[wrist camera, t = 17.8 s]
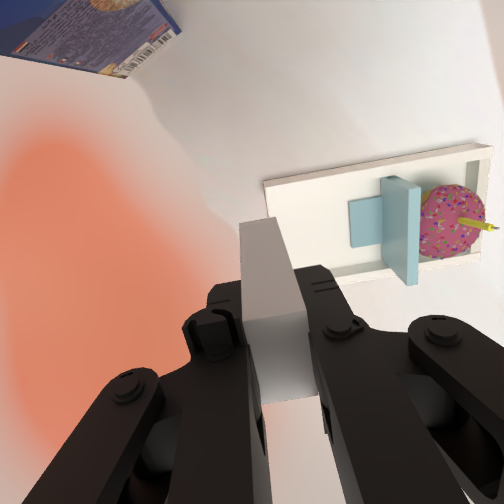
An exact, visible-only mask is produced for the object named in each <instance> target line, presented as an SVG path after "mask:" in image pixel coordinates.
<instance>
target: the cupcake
mask: <svg viewBox="0 0 504 504" xmlns="http://www.w3.org/2000/svg"><path fill="white" fill-rule="evenodd" d="M484 206H485V204H484V205H483V202H482V200H481V199H480V197H479V196H478V195H477V194H476V193H474V192H473V191H472V190H470V189H468V188H466V187H464V186H461V185H458V184H451V185H439V186H437V187H435V188H433V189H431V190H429V191H426V192H422V193H421V204H420V234H419V254H420V255H422V256H426V257H429V258H440V259H441V260H443V259H442V258H448V257H454V256H455V255H457V254H460V253H462V252H464V251H465V250H467V249H468V248H470V247H471V245H472V244H473V243H475V241H476V240H477V239H478V238H479V236H480V235H479V234H480V232H481V230H482V229H483V230H487V231H493V230H494V229H499V227H495V226H494V225H493V224H489V223H485V220H486V219H485V210H484V209H485V208H484Z"/></svg>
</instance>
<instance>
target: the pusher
mask: <svg viewBox="0 0 504 504" xmlns="http://www.w3.org/2000/svg"><path fill="white" fill-rule="evenodd" d="M420 204H421V187H419V186H417V185H415V184H413V183H411V182H409V181H406V180H404V179H402V178H400V177H398V176H396V175H392V176H387V177H381V196H375V197H369V198H364V199H358V200H353V201H348V207H349V224H350V242H351V247H352V248H357V247H363V246H369V245H375V244H380V243H382V260H383V261H384V262H385V263H386V264H387V265H388V266H389V267H390V268H391V269H392V270H393V272H394V273H395V274H396V275H397V276H398V277H399V278H400V279H401V280H402V281H403V282H404V283H405V284H406V286H411V285H416V284H418V264H419V234H420Z"/></svg>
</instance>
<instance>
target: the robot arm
mask: <svg viewBox="0 0 504 504" xmlns="http://www.w3.org/2000/svg"><path fill="white" fill-rule="evenodd" d="M239 231H240V263H241V280H238V281H232V282H227V283H221V284H216V285H215V286H214V287H213V288H212V289H211V291H210V292H209V293H208V297H207V306H206V308H205V309H202V310H200V311H198V312H196V313H194V314H192V315H191V316H190V317H189V318H188V319H187V320H186V321H185V323H184V325H183V327H182V331H183V334H184V337H185V340H186V342H187V345H188V348H189V352H190V354H191V360H190V362H189V363H187V364H186V365H185V366H183V367H181V368H179V369H177V370H175V371H173V372H170V373H168V374H166V375H163V376H161V377H158V375H157V373H156V372H154V371H153V370H152V369H148V368H144V367H142V368H135V369H131V370H129V371H126V372H123V373H121V374H120V375H118V376H117V377H115V378H114V379H112V380H111V381H110V382H109V383H108V384H107V385H106V386H105V387H104V389H102V391H101V392H100V394H99V395H98V396H97V398H96V399H95V401H94V402H93V404H92V405H91V406H90V408H89V409H88V411H87V412H86V414H85V415H84V416H83V418H82V419H81V421H80V422H79V423H78V425H77V426H76V427H75V429H74V430H73V432H72V433H71V435H70V436H69V437H68V439H67V440H66V442H65V443H64V444H63V446H62V447H61V449H60V450H59V451H58V453H57V454H56V456H55V457H54V459H53V460H52V461H51V463H50V464H49V466H48V467H47V468H46V470H45V471H44V473H43V474H42V476H41V477H40V479H39V480H38V481H37V482H36V484H35V485H34V487H33V488H32V490H31V491H30V492H29V494H28V495H27V497H26V498H25V499H24V501H23V502H22V504H272V493H271V483H270V472H269V462H268V450H267V440H266V429H265V421H264V417H263V413H262V408H261V402H262V404H269V403H274V402H281V401H287V400H293V399H299V398H304V397H310V396H317V395H318V392H319V396H320V401H321V409H322V416H323V422H324V430H325V434H328V436H329V441H330V444H331V448H332V452H333V456H334V459H335V463H336V467H337V471H338V474H339V478H340V482H341V485H342V489H343V493H344V497H345V500H346V504H470V503H469V501H468V499H467V497H466V496H465V494H464V492H463V491H465V493H466V494H467V495H468V496H469V498H470V499H471V500H472V501H473V502H474V503H475V504H504V347H502V346H501V345H499V344H498V343H496V342H495V341H493V340H492V339H490V338H489V337H487V336H486V335H484V334H483V333H481V332H480V331H478V330H477V329H475V328H474V327H472V326H471V325H469V324H467V323H465V322H463V321H461V320H459V319H457V318H453V317H449V316H445V315H428V316H423V317H419V318H418V319H416V320H414V321H413V322H411V324H410V326H409V328H408V333H406V332H387V331H380V330H376V329H372V328H370V327H369V325H368V324H367V323H366V322H365V321H364V320H363V319H362V318H360V317H358V316H356V315H354V314H353V312H352V310H351V308H350V306H349V304H348V303H347V301H346V299H345V297H344V295H343V293H342V291H341V290H340V288H339V286H338V284H337V282H336V281H335V278H334V276H333V275H332V273H331V271H330V270H329V269H327V268H325V267H324V266H322V265H320V264H319V265H314V266H308V267H303V268H297V269H293V267H292V264H291V261H290V258H289V255H288V252H287V249H286V246H285V243H284V240H283V237H282V234H281V231H280V228H279V225H278V222H277V219H276V217H270V218H265V219H260V220H255V221H249V222H244V223H239ZM461 488H462V489H463V490H462V489H461Z"/></svg>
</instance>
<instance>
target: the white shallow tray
mask: <svg viewBox="0 0 504 504" xmlns="http://www.w3.org/2000/svg"><path fill="white" fill-rule="evenodd" d="M492 155H493V146H490V145H484V144H478V143H471V144H465V145H460V146H454V147H449V148H443V149H438V150H432V151H427V152H421V153H416V154H410V155H405V156H399V157H394V158H388V159H383V160H377V161H372V162H366V163H361V164H355V165H350V166H344V167H339V168H333V169H328V170H322V171H317V172H311V173H306V174H300V175H295V176H289V177H284V178H278V179H273V180H267V181H263V184H264V190H265V196H266V203H267V209H268V215H269V218H270V217H276V219H277V222H278V225H279V228H280V231H281V234H282V237H283V240H284V243H285V246H286V249H287V252H288V255H289V258H290V261H291V264H292V267H293V269H297V268H303V267H308V266H314V265H319V264H320V265H322V266H324V267H325V268H327V269H329V270H330V271H331V273H332V275H333V276H334V278H335V281H336V282H337V284H338V286H339V285H345V284H351V283H357V282H362V281H368V280H374V279H380V278H386V277H391V276H397V275H396V274H395V273H394V272H393V270H392V269H391V268H390V267H389V266H388V265H387V264H386V263H385V262H384V261H383V260H382V243H380V244H375V245H369V246H363V247H357V248H352V247H351V242H350V224H349V207H348V201H353V200H358V199H364V198H369V197H375V196H381V177H387V176H392V175H396V176H398V177H400V178H402V179H404V180H406V181H409V182H411V183H413V184H415V185H417V186H419V187H421V193H422V192H426V191H429V190H431V189H433V188H435V187H437V186H439V185H451V184H458V185H461V186H464V187H466V188H468V189H470V190H472V191H473V192H474V193H476V194H477V195H478V196H479V197H480V199H481V200H482V202H483V205H484V204H485V205H486V196H487V187H488V179H489V170H490V161H491V158H492ZM484 208H485V206H484ZM484 210H485V209H484ZM482 231H483V229H482V230H481V232H480V234H479V235H480V236H479V238H478V239H477V240H476V241H475V243H473V244H472V245H471V247H470V248H468V249H467V250H465V251H464V252H462V253H460V254H457V255H455V256H454V257H448V258H442V259H443V260H441V259H440V258H429V257H426V256H422V255H420V254H419V264H418V272H420V271H426V270H432V269H437V268H443V267H449V266H455V265H461V264H466V263H472V262H478V261H480V258H481V252H480V248H481V240H482Z"/></svg>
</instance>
